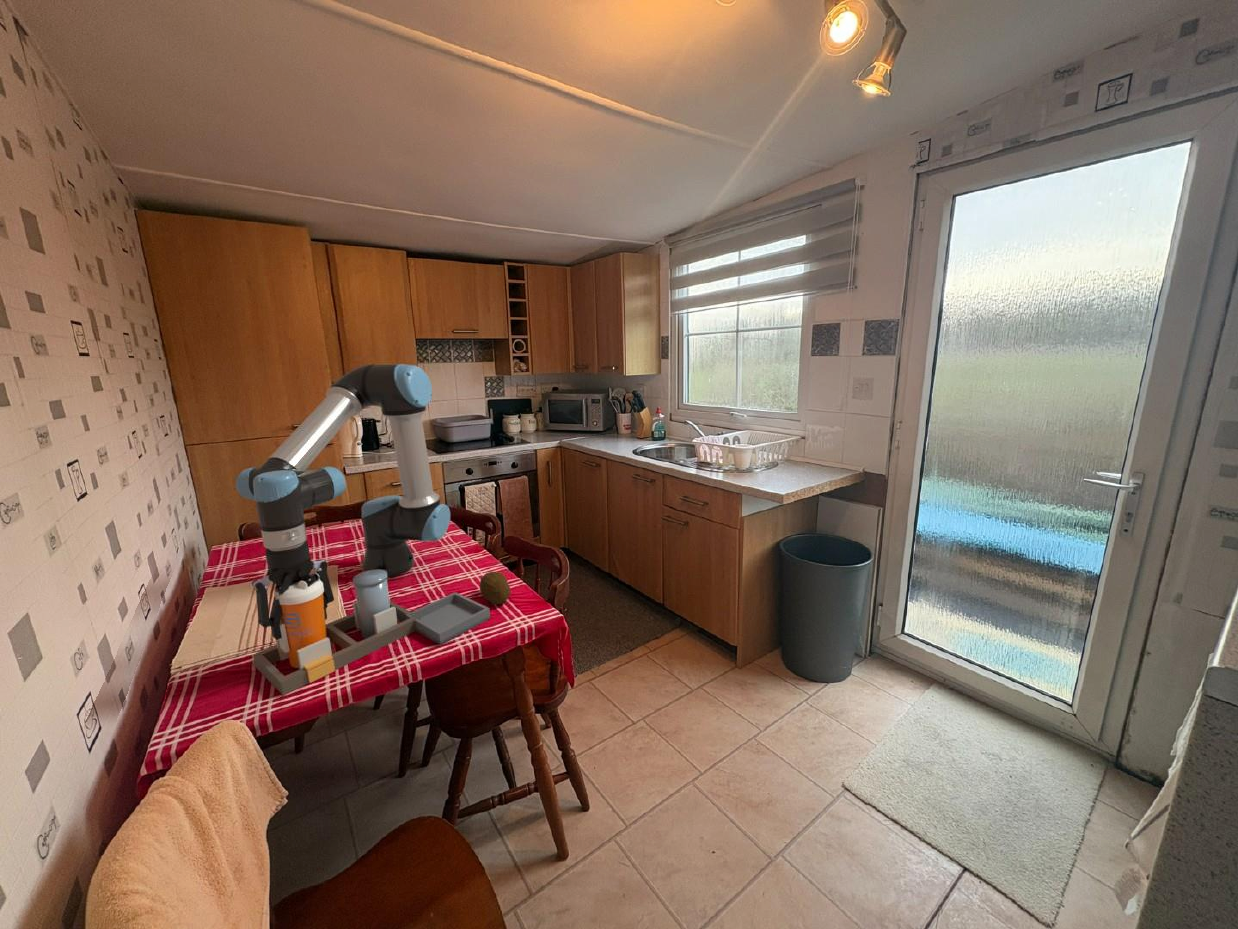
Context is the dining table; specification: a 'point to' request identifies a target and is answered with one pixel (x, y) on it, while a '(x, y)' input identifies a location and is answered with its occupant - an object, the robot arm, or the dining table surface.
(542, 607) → the dining table surface
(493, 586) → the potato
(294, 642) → the shaker bottle
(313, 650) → the rack
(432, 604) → the tray
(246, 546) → the dining table surface
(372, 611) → the canister
